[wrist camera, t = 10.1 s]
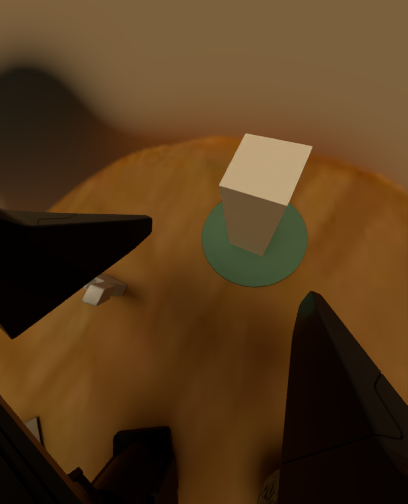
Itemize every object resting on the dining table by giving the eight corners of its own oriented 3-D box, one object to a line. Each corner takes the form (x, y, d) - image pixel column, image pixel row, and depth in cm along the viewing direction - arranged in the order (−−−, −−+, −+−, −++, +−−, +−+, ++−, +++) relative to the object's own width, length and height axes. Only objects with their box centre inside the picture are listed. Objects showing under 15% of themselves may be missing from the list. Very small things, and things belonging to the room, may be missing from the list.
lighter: (99, 285, 25) (39, 278, 18) (105, 274, 26) (49, 262, 18) (138, 305, 23) (90, 307, 16) (144, 293, 24) (99, 288, 16)
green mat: (213, 296, 22) (212, 296, 21) (195, 207, 26) (194, 205, 25) (323, 273, 20) (325, 273, 20) (286, 181, 24) (286, 179, 24)
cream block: (262, 256, 22) (287, 205, 10) (229, 243, 23) (218, 185, 11) (275, 225, 22) (312, 146, 11) (243, 214, 24) (245, 133, 12)
